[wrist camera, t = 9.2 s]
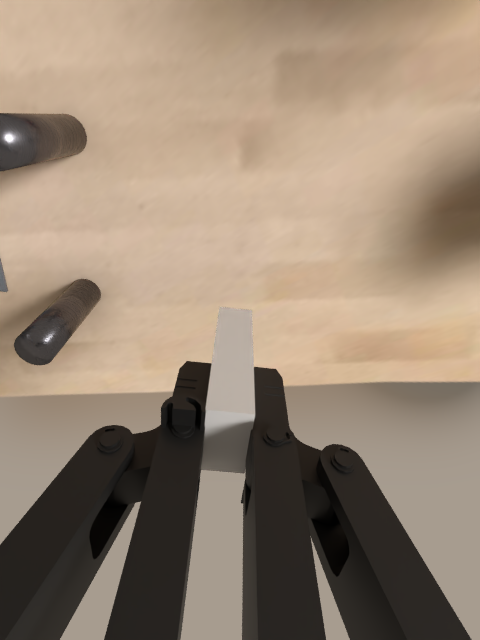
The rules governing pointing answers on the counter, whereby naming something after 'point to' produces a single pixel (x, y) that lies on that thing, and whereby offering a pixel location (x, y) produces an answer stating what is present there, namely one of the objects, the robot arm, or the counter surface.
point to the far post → (57, 323)
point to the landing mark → (2, 280)
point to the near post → (38, 138)
